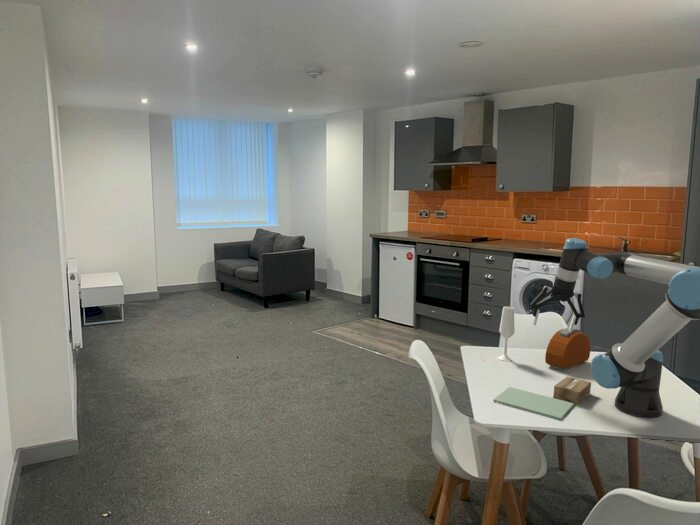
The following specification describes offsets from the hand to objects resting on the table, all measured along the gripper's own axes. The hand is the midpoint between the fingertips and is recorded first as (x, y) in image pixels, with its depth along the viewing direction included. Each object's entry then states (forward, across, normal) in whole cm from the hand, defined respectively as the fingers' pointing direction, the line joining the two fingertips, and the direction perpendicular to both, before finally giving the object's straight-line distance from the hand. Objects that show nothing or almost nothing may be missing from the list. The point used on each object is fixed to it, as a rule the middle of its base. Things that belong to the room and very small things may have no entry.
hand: (552, 327), depth 210 cm
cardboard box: (+20, -11, +14) cm, 27 cm away
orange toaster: (+26, -15, -23) cm, 38 cm away
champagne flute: (+30, +11, -22) cm, 39 cm away
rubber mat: (+20, +4, +26) cm, 33 cm away
